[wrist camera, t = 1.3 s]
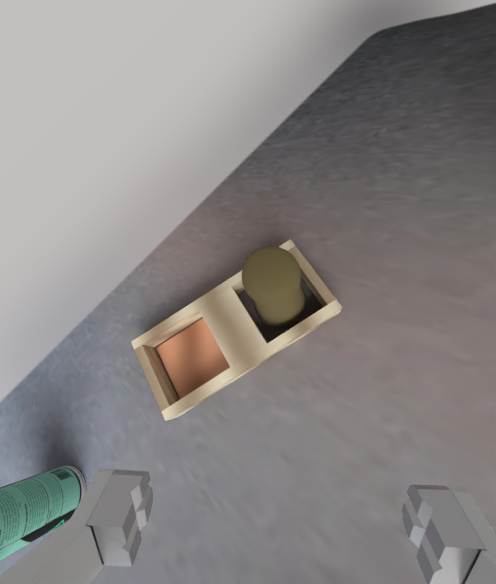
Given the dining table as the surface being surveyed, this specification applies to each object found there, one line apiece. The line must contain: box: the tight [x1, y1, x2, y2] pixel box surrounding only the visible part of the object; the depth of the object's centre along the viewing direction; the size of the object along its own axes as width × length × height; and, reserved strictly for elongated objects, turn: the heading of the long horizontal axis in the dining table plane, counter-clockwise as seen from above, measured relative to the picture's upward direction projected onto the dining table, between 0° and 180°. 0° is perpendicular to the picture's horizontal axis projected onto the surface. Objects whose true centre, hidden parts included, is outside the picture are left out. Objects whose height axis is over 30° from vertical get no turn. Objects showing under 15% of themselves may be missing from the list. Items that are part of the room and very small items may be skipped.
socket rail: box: [131, 239, 342, 421], centre depth 33 cm, size 22×10×3 cm, turn 121°
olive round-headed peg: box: [242, 246, 306, 328], centre depth 29 cm, size 6×6×11 cm
